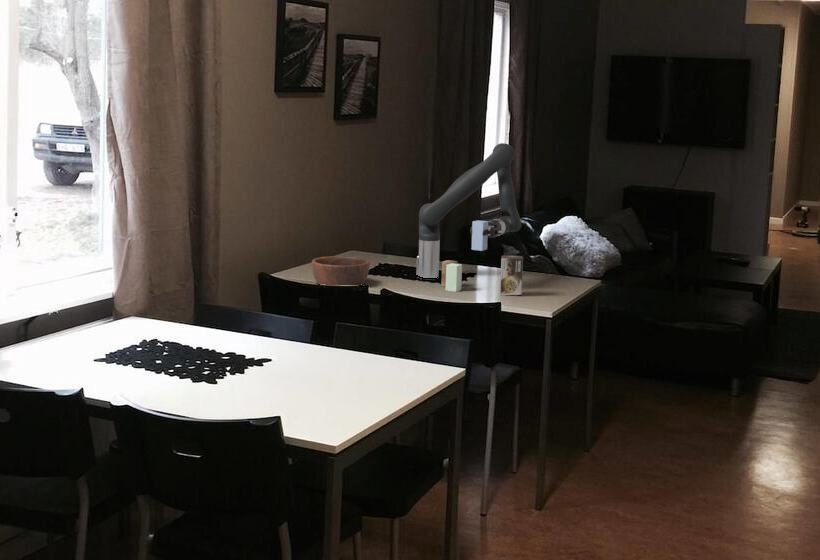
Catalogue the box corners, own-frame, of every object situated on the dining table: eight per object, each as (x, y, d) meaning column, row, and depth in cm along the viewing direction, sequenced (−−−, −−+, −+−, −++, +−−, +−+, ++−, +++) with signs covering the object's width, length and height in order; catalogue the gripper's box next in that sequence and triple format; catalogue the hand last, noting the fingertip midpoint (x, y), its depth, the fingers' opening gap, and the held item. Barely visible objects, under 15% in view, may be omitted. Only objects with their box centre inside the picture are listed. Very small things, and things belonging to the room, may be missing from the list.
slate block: (471, 249, 465) (472, 221, 463) (476, 248, 470) (477, 220, 467) (482, 250, 463) (483, 222, 461) (487, 249, 467) (488, 221, 465)
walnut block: (441, 286, 473) (442, 261, 471) (446, 285, 478) (447, 260, 476) (451, 288, 471) (452, 262, 469) (456, 286, 475) (457, 261, 473)
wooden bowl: (379, 282, 480) (379, 259, 478) (352, 292, 457) (352, 267, 455) (329, 276, 490) (329, 254, 488) (300, 285, 467) (300, 262, 466)
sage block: (445, 290, 466) (446, 264, 464) (450, 288, 470) (451, 263, 468) (455, 291, 463) (456, 266, 461) (461, 289, 468) (462, 264, 466)
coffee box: (521, 293, 463) (523, 255, 460) (521, 296, 457) (523, 258, 454) (500, 292, 464) (501, 254, 461) (499, 295, 458) (501, 257, 455)
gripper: (479, 218, 480) (462, 222, 465) (509, 221, 473) (493, 225, 459) (478, 235, 481) (461, 239, 467) (508, 238, 475) (492, 243, 460)
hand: (477, 232), depth 463 cm, fingers closed on slate block, 5 cm apart
